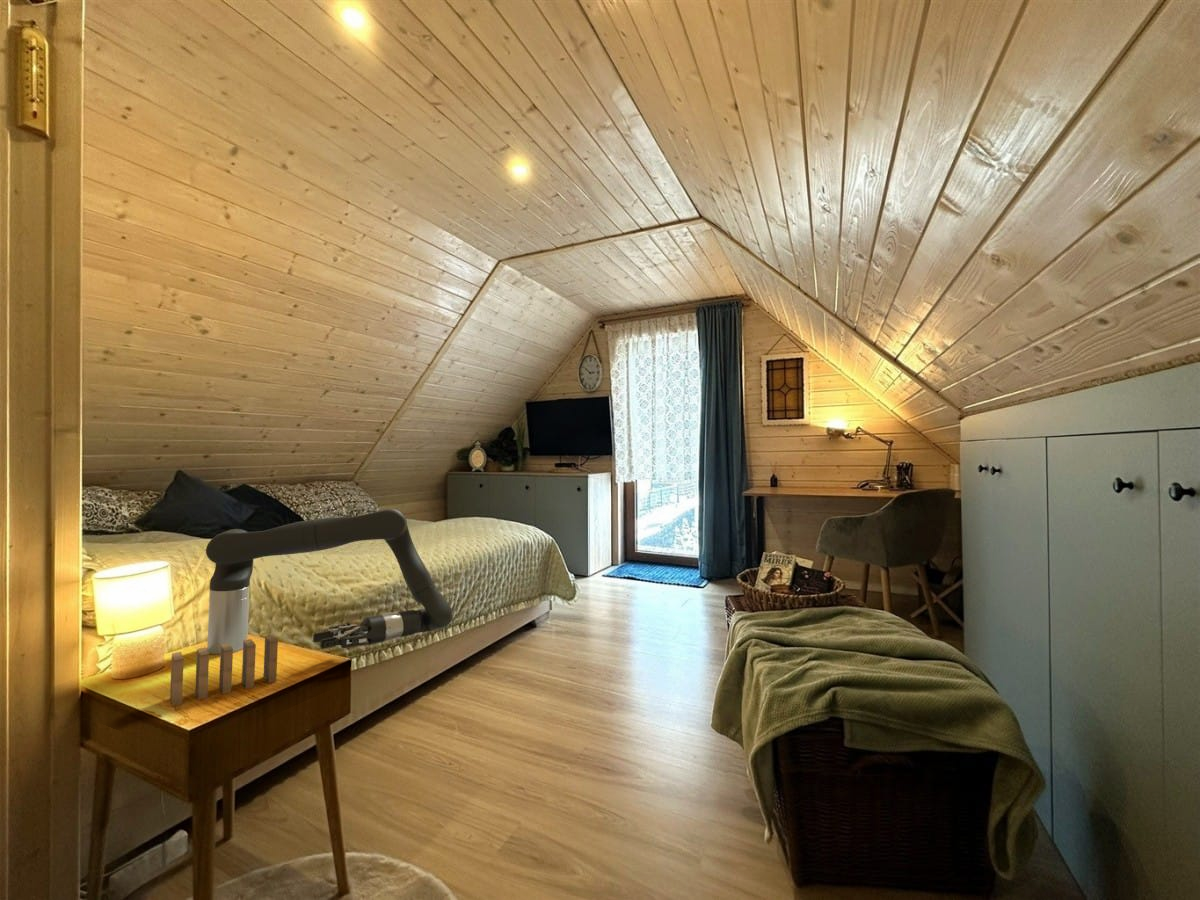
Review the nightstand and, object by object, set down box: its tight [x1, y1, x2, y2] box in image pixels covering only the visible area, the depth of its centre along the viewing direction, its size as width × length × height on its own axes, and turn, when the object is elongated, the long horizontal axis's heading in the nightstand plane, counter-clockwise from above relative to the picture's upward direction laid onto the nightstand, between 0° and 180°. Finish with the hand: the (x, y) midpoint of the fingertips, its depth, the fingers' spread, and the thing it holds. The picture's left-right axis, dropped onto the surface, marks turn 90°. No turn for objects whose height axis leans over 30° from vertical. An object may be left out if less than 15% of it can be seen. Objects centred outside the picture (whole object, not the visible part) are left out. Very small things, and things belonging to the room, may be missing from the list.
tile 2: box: [241, 638, 257, 690], centre depth 126 cm, size 5×2×10 cm, turn 44°
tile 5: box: [169, 651, 184, 707], centre depth 117 cm, size 5×2×10 cm, turn 44°
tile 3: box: [218, 643, 234, 695], centre depth 123 cm, size 5×2×10 cm, turn 44°
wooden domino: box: [194, 646, 210, 701], centre depth 120 cm, size 5×2×10 cm, turn 44°
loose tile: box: [263, 634, 279, 684], centre depth 130 cm, size 5×2×10 cm, turn 45°
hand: (317, 641), depth 137 cm, fingers open, 5 cm apart
